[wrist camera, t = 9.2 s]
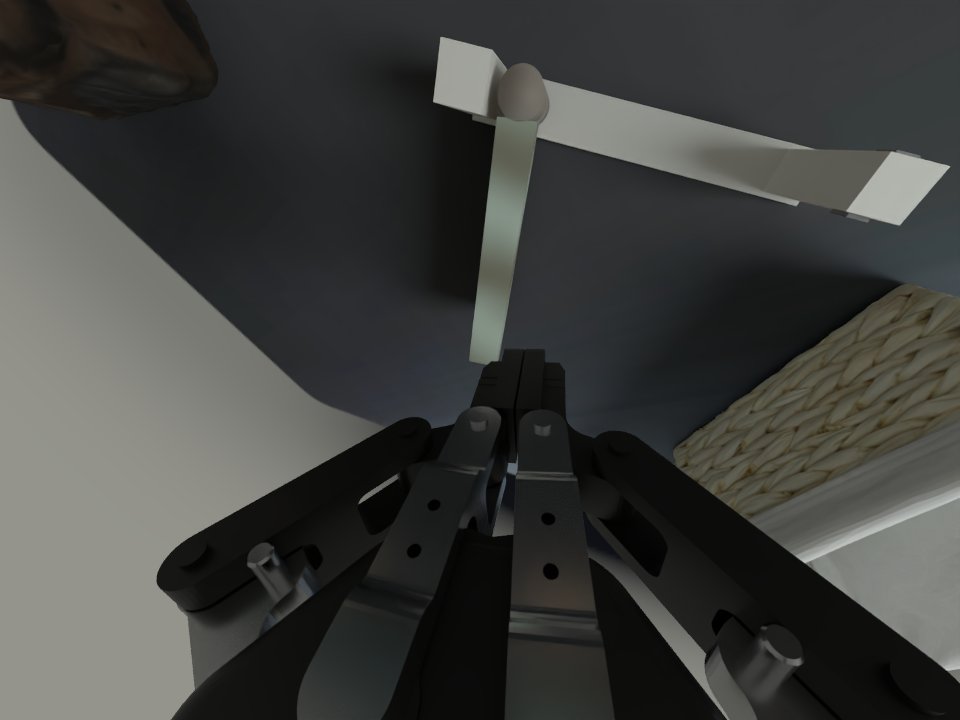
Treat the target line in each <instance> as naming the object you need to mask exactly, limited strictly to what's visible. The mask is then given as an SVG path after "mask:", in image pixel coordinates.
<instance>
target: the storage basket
mask: <svg viewBox="0 0 960 720" xmlns="http://www.w3.org/2000/svg"><path fill="white" fill-rule="evenodd" d="M673 456H674V459H675V465H676V467H677V468H679V469H680V470H681V471H683V472H684V473H685V474H687V475H688V476H689V477H691V478H692V479H693V480H695V481H696V482H697V483H699V484H700V485H701V486H703V487H704V488H705V489H707V490H708V491H709V492H711V493H712V494H713V495H715V496H716V497H717V498H719V499H720V500H721V501H723V502H724V503H725V504H727V505H728V506H729V507H731V508H732V509H733V510H735V511H736V512H737V513H739V514H740V515H741V516H743V517H744V518H745V519H747V520H748V521H749V522H751V523H752V524H753V525H755V526H756V527H757V528H758V529H760V530H761V531H762V532H764V533H765V534H766V535H768V536H769V537H770V538H772V539H773V540H774V541H776V542H777V543H778V544H780V545H781V546H782V547H784V548H785V549H786V550H788V551H789V552H790V553H792V554H793V555H794V556H796V557H797V558H798V559H800V560H801V561H802V562H804V563H805V564H806V565H808V566H809V567H810V568H812V569H813V570H814V571H816V572H817V573H818V574H820V575H821V576H822V577H824V578H825V579H826V580H828V581H829V582H830V583H832V584H833V585H834V586H836V587H837V588H838V589H840V590H841V591H842V592H844V593H845V594H846V595H848V596H849V597H850V598H852V599H853V600H854V601H856V602H857V603H858V604H860V605H861V606H862V607H864V608H865V609H866V610H868V611H869V612H870V613H872V614H873V615H874V616H876V617H877V618H878V619H880V620H881V621H882V622H884V623H885V624H886V625H888V626H889V627H890V628H892V629H893V630H894V631H896V632H897V633H898V634H900V635H901V636H902V637H904V638H905V639H906V640H908V641H909V642H910V643H912V644H913V645H914V646H916V647H917V648H918V649H920V650H921V651H922V652H924V653H925V654H926V655H928V656H929V657H930V658H932V659H933V660H934V661H935V662H937V663H938V664H939V665H940V666H942V667H943V668H944V669H945V670H946V671H948V670H954V669H960V297H954V296H951V295H949V294H946V293H941V292H934V291H932V290H928V289H924V288H922V287H920V286H917V285H914V284H904V285H901V286H899V287H897V288H895V289H894V290H892V291H891V292H889V293H888V294H886V295H885V296H884V297H882V298H881V299H879V300H878V301H876V302H873V303H872V304H870V305H869V306H868V307H867V308H866V309H865V310H863V311H862V312H861V313H859V314H858V315H857V316H855V317H854V318H853V319H852V320H850V321H849V322H847V323H846V324H845V325H844V326H842V327H840V328H838V329H837V330H835V331H833V332H831V333H830V334H829V336H827V337H826V338H825V339H823V340H822V341H821V342H820V343H819V344H817V345H816V346H815V347H814V348H811V349H809V350H807V351H805V352H804V353H802V354H800V355H798V356H797V357H795V358H794V359H793V360H791V361H790V362H789V363H788V364H787V365H785V366H784V367H783V368H782V369H781V370H780V371H779V372H778V373H776V374H774V375H773V376H771V377H769V378H768V379H767V380H765V381H764V382H763V383H761V384H760V385H759V386H757V387H756V388H755V389H754V390H753V391H751V392H750V393H749V394H747V395H745V396H743V397H742V398H740V399H738V400H737V401H735V402H734V403H733V404H731V405H730V406H729V408H728V409H727V410H726V411H725V412H723V411H722V414H719V415H718V416H716V417H715V419H714V420H713V421H711V422H710V423H709V424H707V425H706V426H704V427H703V428H699V430H697V431H696V432H694V433H693V434H692V435H691V436H690V437H689V438H688V439H686V440H685V441H684V442H682V443H681V444H679V445H678V446H677V447H676V448H675V449H674V450H673Z"/></svg>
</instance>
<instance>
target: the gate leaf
mask: <svg viewBox="0 0 960 720" xmlns="http://www.w3.org/2000/svg"><path fill="white" fill-rule="evenodd" d="M498 103H499V106H500V109H501V110H502V112H503V114H504V115H505V116H506V117H507V118H505V117H497V121H496V130H495V138H494V147H493V156H492V165H491V173H490V182H489V191H488V200H487V208H486V217H485V226H484V235H483V244H482V252H481V261H480V270H479V279H478V287H477V296H476V305H475V314H474V322H473V331H472V340H471V349H470V358H469V361H472V362H477V363H481V364H486V365H488V364H489V363H490V362H491V361H498V360H499V356H500V350H501V344H502V338H503V332H504V326H505V321H506V315H507V309H508V303H509V297H510V291H511V285H512V279H513V273H514V267H515V261H516V256H517V250H518V244H519V238H520V232H521V226H522V220H523V214H524V208H525V202H526V196H527V191H528V185H529V179H530V173H531V167H532V161H533V155H534V149H535V143H536V137H537V131H538V125H539V124H541V123H542V122H543V121H544V119H545V118H546V116H547V114H548V111H549V97H548V94H547V91H546V88H545V85H544V82H543V79H542V76H541V74H540V73H539V71H538V70H537V69H536V68H535V67H533V66H532V65H530V64H526V63H520V64H516V65H514V66H512V67H511V68H509V69H508V70H507V71H506V72H505V73H504V75H503V76H502V78H501V81H500V83H499V87H498Z"/></svg>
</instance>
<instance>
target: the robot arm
mask: <svg viewBox="0 0 960 720" xmlns="http://www.w3.org/2000/svg"><path fill="white" fill-rule="evenodd" d="M517 453H518V472H517V473H516V487H515V512H514V535H506V536H497V537H492V536H493V531H494V527H495V523H496V518H497V515H498V511H499V507H500V503H501V499H502V495H503V492H504V488H505V483H506V473H507V468H508V463H516V460H517ZM396 474H397V476H398V479H397V480H396V481H394V482H393V483H391V484H390V485H388V486H386V487H385V488H383V489H382V490H380V491H379V492H377V493H376V494H374V495H373V496H371V497H370V498H368V499H367V500H365V501H364V502H362V503H360V504H358V503H359V501H360V499H361V498H362V497H363V496H364V495H365V494H366V493H368V492H370V491H371V490H373V489H374V488H376V487H377V486H379V485H380V484H382V483H383V482H385V481H386V480H388V479H390V478H391V477H392V476H394V475H396ZM582 511H584V512H586V514H587V516H588V519H589V521H590V522H591V523H592V525H593V526H594V527H595V528H596V529H597V530H598V531H599V533H600V534H601V535H602V536H603V537H604V538H605V539H606V540H607V542H608V543H609V544H610V545H611V546H612V547H613V549H614V550H615V551H616V552H617V553H618V554H619V555H620V556H621V558H622V559H623V560H624V561H625V562H626V563H627V564H628V566H629V567H630V568H631V569H632V570H633V571H634V572H635V573H636V575H637V576H638V577H639V578H640V579H641V580H642V581H643V583H644V584H645V585H646V586H647V587H648V588H649V589H650V591H652V593H653V594H654V595H655V596H656V597H657V599H658V600H659V601H660V602H661V603H662V604H663V605H664V606H665V608H666V609H667V610H668V611H669V612H670V613H671V614H672V616H673V617H674V618H675V619H676V620H677V621H678V622H679V624H680V625H681V626H682V627H683V628H684V629H685V630H686V631H687V633H688V634H689V635H690V636H691V637H692V638H693V639H694V640H695V642H696V643H697V644H698V645H699V646H700V647H701V649H703V651H704V652H705V653H706V657H705V674H706V677H707V681H708V684H709V686H710V689H711V690H712V692H713V694H714V696H715V698H716V699H717V701H718V702H719V704H720V705H721V707H722V708H723V710H724V711H725V713H726V714H727V716H728V717H729V719H730V720H960V683H959V682H958V681H957V680H956V679H955V678H954V677H953V676H952V675H951V674H950V673H948V672H947V671H946V670H945V669H944V668H943V667H942V666H940V665H939V664H938V663H937V662H935V661H934V660H933V659H932V658H930V657H929V656H928V655H926V654H925V653H924V652H922V651H921V650H920V649H918V648H917V647H916V646H914V645H913V644H912V643H910V642H909V641H908V640H906V639H905V638H904V637H902V636H901V635H900V634H898V633H897V632H896V631H894V630H893V629H892V628H890V627H889V626H888V625H886V624H885V623H884V622H882V621H881V620H880V619H878V618H877V617H876V616H874V615H873V614H872V613H870V612H869V611H868V610H866V609H865V608H864V607H862V606H861V605H860V604H858V603H857V602H856V601H854V600H853V599H852V598H850V597H849V596H848V595H846V594H845V593H844V592H842V591H841V590H840V589H838V588H837V587H836V586H834V585H833V584H832V583H830V582H829V581H828V580H826V579H825V578H824V577H822V576H821V575H820V574H818V573H817V572H816V571H814V570H813V569H812V568H810V567H809V566H808V565H806V564H805V563H804V562H802V561H801V560H800V559H798V558H797V557H796V556H794V555H793V554H792V553H790V552H789V551H788V550H786V549H785V548H784V547H782V546H781V545H780V544H778V543H777V542H776V541H774V540H773V539H772V538H770V537H769V536H768V535H766V534H765V533H764V532H762V531H761V530H760V529H758V528H757V527H756V526H755V525H753V524H752V523H751V522H749V521H748V520H747V519H745V518H744V517H743V516H741V515H740V514H739V513H737V512H736V511H735V510H733V509H732V508H731V507H729V506H728V505H727V504H725V503H724V502H723V501H721V500H720V499H719V498H717V497H716V496H715V495H713V494H712V493H711V492H709V491H708V490H707V489H705V488H704V487H703V486H701V485H700V484H699V483H697V482H696V481H695V480H693V479H692V478H691V477H689V476H688V475H687V474H685V473H684V472H683V471H681V470H680V469H679V468H677V467H676V466H675V465H673V464H672V463H671V462H669V461H668V460H667V459H665V458H664V457H663V456H661V455H660V454H659V453H657V452H656V451H655V450H653V449H652V448H651V447H649V446H648V445H647V444H645V443H644V442H643V441H641V440H640V439H639V438H637V437H636V436H634V435H632V434H629V433H626V432H622V431H607V432H604V433H601V434H600V435H598V436H597V437H596V438H592V437H589V436H586V435H583V434H581V433H579V432H577V431H575V430H574V429H573V428H572V427H571V426H570V425H569V424H568V422H567V420H566V406H565V370H564V369H563V368H562V366H561V365H560V364H559V363H546V362H545V349H526V350H524V349H505V351H504V355H503V358H502V361H491V362H490V363H489V364H488V365H486V366H485V367H484V368H483V371H482V374H481V378H480V380H479V383H478V386H477V389H476V392H475V395H474V397H473V400H472V403H471V406H470V408H469V409H467V410H465V411H464V412H462V413H461V414H460V415H459V417H458V418H457V420H456V422H455V424H452V425H449V426H444V427H439V428H433V429H431V425H430V423H429V422H428V421H427V420H425V419H423V418H419V417H410V418H405V419H402V420H400V421H398V422H396V423H394V424H392V425H390V426H389V427H387V428H385V429H383V430H381V431H380V432H378V433H376V434H374V435H372V436H371V437H369V438H367V439H365V440H364V441H362V442H360V443H358V444H356V445H355V446H353V447H351V448H349V449H348V450H346V451H344V452H342V453H340V454H338V455H337V456H335V457H333V458H331V459H330V460H328V461H326V462H324V463H322V464H321V465H319V466H317V467H315V468H313V469H312V470H310V471H308V472H306V473H304V474H303V475H301V476H299V477H297V478H296V479H294V480H292V481H290V482H288V483H287V484H285V485H283V486H281V487H279V488H278V489H276V490H274V491H272V492H270V493H269V494H267V495H265V496H263V497H262V498H260V499H258V500H256V501H254V502H252V503H251V504H249V505H247V506H245V507H243V508H242V509H240V510H238V511H236V512H235V513H233V514H231V515H229V516H228V517H226V518H224V519H222V520H220V521H219V522H217V523H215V524H213V525H211V526H210V527H208V528H206V529H204V530H202V531H201V532H199V533H197V534H195V535H193V536H192V537H190V538H188V539H187V540H185V541H184V542H183V543H181V544H180V545H179V546H178V547H176V548H175V549H174V550H173V551H172V552H171V553H170V554H169V555H168V557H167V558H166V559H165V560H164V562H163V563H162V565H161V567H160V569H159V571H158V574H157V585H158V586H159V587H160V589H161V590H163V591H164V592H165V593H166V594H167V595H168V596H169V597H170V598H171V599H172V600H173V601H175V602H176V603H177V606H178V608H179V609H180V610H181V611H182V612H183V613H184V614H185V615H186V616H188V624H189V634H190V643H191V654H192V664H193V674H194V684H195V691H194V692H193V693H192V694H191V695H190V696H189V698H188V699H187V700H186V701H185V702H184V703H183V704H182V706H181V707H180V709H179V710H178V711H177V712H176V714H175V715H174V717H173V718H172V719H171V720H727V719H726V718H725V716H724V715H723V714H722V712H721V711H720V710H719V709H718V707H717V706H716V705H715V703H714V702H713V701H712V700H711V698H710V697H709V696H708V694H707V693H706V692H705V691H704V689H703V688H702V687H701V686H700V684H699V683H698V682H697V680H696V679H695V678H694V676H693V675H692V674H691V673H690V671H689V670H688V669H687V667H686V666H685V665H684V664H683V662H682V661H681V660H680V658H679V657H678V656H677V655H676V653H675V652H674V651H673V649H672V648H671V647H670V646H669V645H668V643H667V642H666V640H665V639H664V638H663V637H662V635H661V634H660V633H659V632H658V630H657V629H656V627H655V626H654V625H653V624H652V622H651V621H650V620H649V618H648V617H647V616H646V615H645V613H644V612H643V611H642V609H640V607H639V606H638V605H637V603H636V602H635V600H634V599H633V598H632V597H631V595H630V594H629V593H628V592H627V590H626V589H625V588H624V587H623V585H622V584H621V583H620V582H619V581H618V580H617V579H616V578H615V577H614V576H613V575H612V574H611V573H610V572H609V571H608V570H607V569H605V568H604V567H603V566H602V565H600V564H599V563H597V562H596V561H594V560H593V559H591V558H589V557H588V551H587V544H586V537H585V531H584V523H583V516H582Z"/></svg>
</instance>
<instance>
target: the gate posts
mask: <svg viewBox="0 0 960 720" xmlns="http://www.w3.org/2000/svg"><path fill="white" fill-rule="evenodd" d="M506 71H507V69H506V67H505V66H504V65H503V63H502V62H501V61H500V59H499V58H498V57H497V55H496V54H495V53H494V51H493V50H491V49H487V48H483V47H479V46H475V45H471V44H467V43H464V42H460V41H456V40H452V39H448V38H444V37H441V39H440V48H439V56H438V65H437V74H436V82H435V91H434V99H433V102H435V103H438V104H441V105H444V106H447V107H450V108H454V109H457V110H460V111H463V112H466V113H469V114H472V115H473V117H472V120H475V121H478V122H482V123H486V124H490V125H493V126H496V121H497V117H505V118H507V117H506V116H505V115H504V114H503V112H502V110H501V109H500V106H499V103H498V87H499V83H500V81H501V78H502V76H503V75H504V73H505V72H506ZM543 82H544V85H545V88H546V91H547V94H548V97H549V111H548V114H547V116H546V118H545V119H544V121H543V122H542V123H541V124H539V125H538V131H537V137H539V138H542V139H546V140H550V141H554V142H557V143H561V144H565V145H569V146H572V147H576V148H580V149H584V150H587V151H591V152H595V153H599V154H603V155H606V156H610V157H614V158H618V159H621V160H625V161H629V162H633V163H636V164H640V165H644V166H648V167H651V168H655V169H659V170H663V171H666V172H670V173H674V174H678V175H682V176H685V177H689V178H693V179H697V180H700V181H704V182H708V183H712V184H715V185H719V186H723V187H727V188H730V189H734V190H738V191H742V192H745V193H749V194H753V195H757V196H760V197H764V198H768V199H772V200H776V201H779V202H783V203H787V204H791V205H794V206H797V205H798V203H799V202H800V201H801V202H805V203H809V204H813V205H818V206H822V207H826V208H830V209H833V210H832V211H831V212H830V213H833V214H837V215H841V216H844V217H848V218H852V219H856V220H860V221H864V222H868V221H869V220H870V219H875V220H879V221H883V222H887V223H892V224H896V225H900V224H901V223H902V222H903V221H904V220H905V219H906V217H907V216H908V215H909V214H910V213H911V212H912V210H913V209H914V208H915V207H916V206H917V205H918V203H919V202H920V201H921V200H922V199H923V198H924V196H925V195H926V194H927V193H928V192H929V191H930V189H931V188H932V187H933V186H934V185H935V184H936V182H937V181H938V180H939V179H940V178H941V177H942V175H943V174H944V173H945V172H946V171H947V170H948V169H949V167H950V166H947V165H943V164H939V163H935V162H931V161H927V160H923V159H919V158H920V157H921V156H919V155H915V154H911V153H907V152H903V151H899V150H876V151H852V150H816V149H812V148H808V147H804V146H801V145H797V144H793V143H789V142H785V141H781V140H777V139H773V138H769V137H766V136H762V135H758V134H754V133H750V132H746V131H742V130H738V129H734V128H731V127H727V126H723V125H719V124H715V123H711V122H707V121H703V120H699V119H696V118H692V117H688V116H684V115H680V114H676V113H672V112H668V111H664V110H660V109H657V108H653V107H649V106H645V105H641V104H637V103H633V102H629V101H625V100H622V99H618V98H614V97H610V96H606V95H602V94H598V93H594V92H590V91H587V90H583V89H579V88H575V87H571V86H567V85H563V84H559V83H555V82H552V81H548V80H544V79H543Z"/></svg>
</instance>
